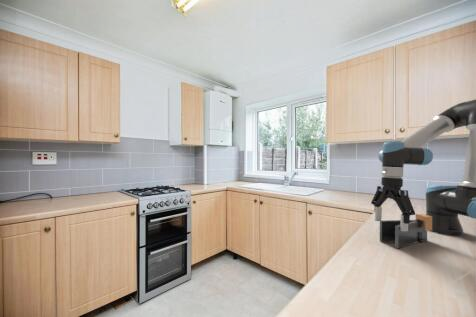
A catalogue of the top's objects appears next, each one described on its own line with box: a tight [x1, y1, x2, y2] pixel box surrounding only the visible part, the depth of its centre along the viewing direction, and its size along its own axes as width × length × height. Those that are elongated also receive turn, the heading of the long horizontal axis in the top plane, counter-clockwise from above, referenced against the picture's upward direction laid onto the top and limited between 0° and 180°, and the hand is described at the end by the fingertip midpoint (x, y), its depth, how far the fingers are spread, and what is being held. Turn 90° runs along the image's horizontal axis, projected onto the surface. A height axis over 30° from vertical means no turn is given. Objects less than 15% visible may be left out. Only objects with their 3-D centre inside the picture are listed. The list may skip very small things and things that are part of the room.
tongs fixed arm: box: [379, 219, 428, 244], centre depth 92 cm, size 22×3×9 cm, turn 95°
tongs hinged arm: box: [394, 221, 419, 249], centre depth 88 cm, size 15×1×9 cm, turn 116°
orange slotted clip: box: [415, 213, 432, 232], centre depth 93 cm, size 3×4×6 cm
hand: (390, 225), depth 91 cm, fingers open, 13 cm apart
